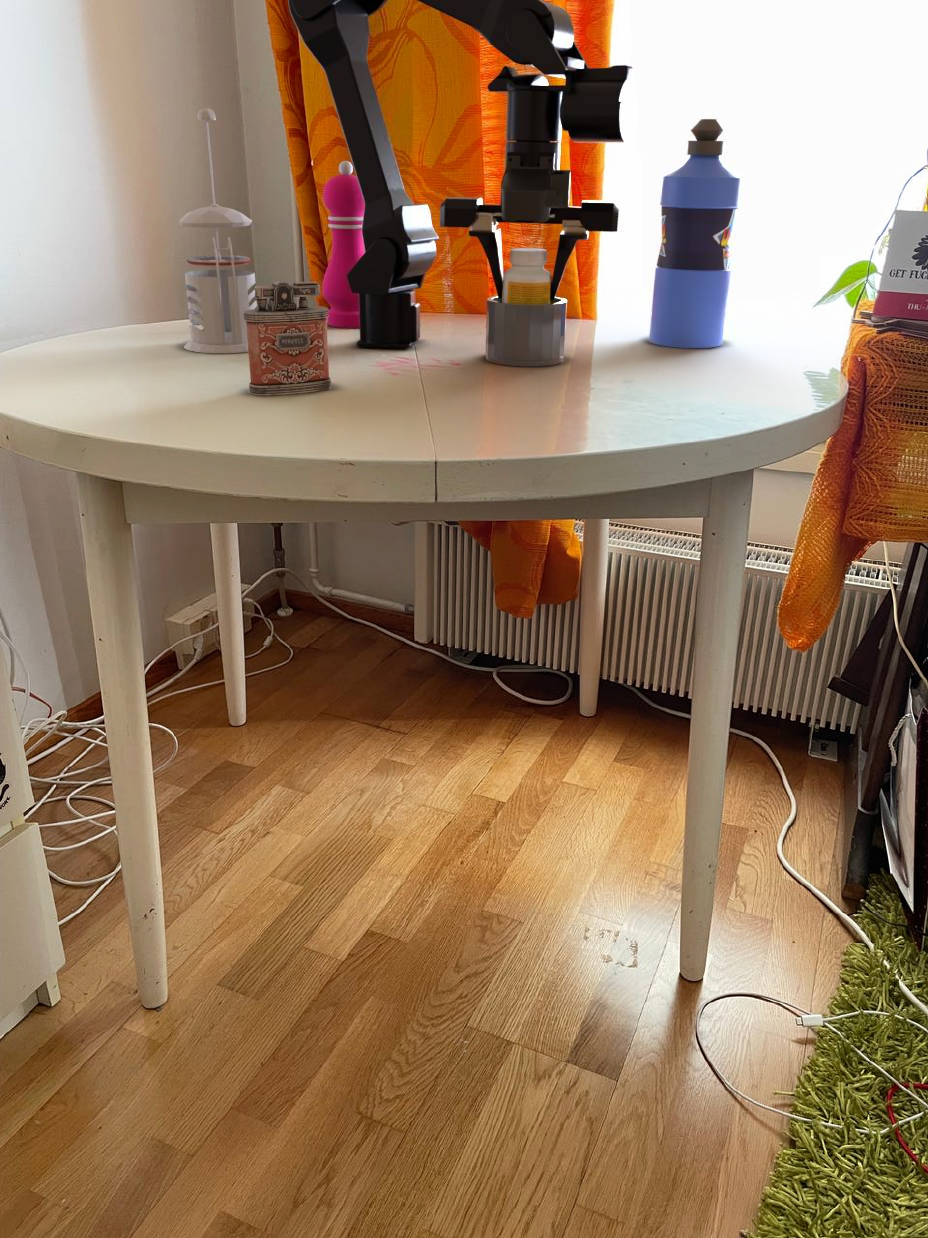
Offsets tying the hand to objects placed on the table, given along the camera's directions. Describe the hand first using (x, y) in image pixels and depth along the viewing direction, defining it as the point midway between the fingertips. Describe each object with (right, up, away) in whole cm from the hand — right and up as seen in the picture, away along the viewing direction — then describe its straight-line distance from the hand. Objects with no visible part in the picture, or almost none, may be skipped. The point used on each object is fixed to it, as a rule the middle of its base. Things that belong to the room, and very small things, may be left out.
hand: (526, 298), depth 109 cm
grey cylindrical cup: (0, -6, +3) cm, 7 cm away
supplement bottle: (0, -4, +2) cm, 5 cm away
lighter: (-24, -13, -14) cm, 30 cm away
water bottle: (+21, -1, +15) cm, 26 cm away
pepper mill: (-22, +4, +24) cm, 33 cm away
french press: (-35, -4, +7) cm, 36 cm away
